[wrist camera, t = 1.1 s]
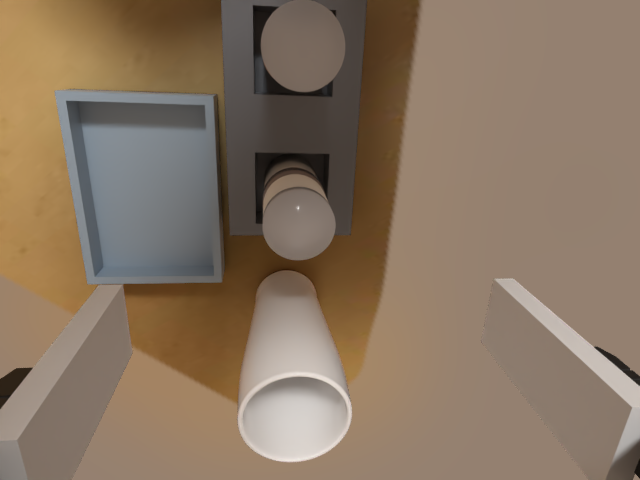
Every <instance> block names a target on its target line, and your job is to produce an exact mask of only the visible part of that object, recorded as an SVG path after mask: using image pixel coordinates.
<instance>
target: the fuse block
mask: <svg viewBox="0 0 640 480" xmlns="http://www.w3.org/2000/svg"><path fill="white" fill-rule="evenodd" d="M290 1H293V0H221V13H222V40H223V66H224V93H225V120H226V146H227V173H228V199H229V226H230V235H264V234H263V227H262V226H263V191H264V176H265V172H266V169H267V167H268V165H269V164H270V163H271V162H272V161H273V160H274V159H275V158H277V157H279V156H281V155H285V154H295V155H299V156H301V157H303V158H305V159H306V160H307V161H308V162H309V163H310V164H311V166H312V167H313V169H314V171H315V174H316V176H317V178H318V180H319V181H320V183H321V185H322V187H323V190H324V192H325V194H326V197H327V200H328V202H329V205H330V207H331V209H332V211H333V214H334V217H335V222H336V228H335V233H334V235H351V224H352V209H353V195H354V181H355V166H356V152H357V137H358V123H359V109H360V94H361V80H362V66H363V51H364V37H365V23H366V8H367V0H311V1H315V2H317V3H319V4H322V5H323V6H325V7H326V8H327V9H329V10H330V11H331V12H332V13H333V14H334V15H335V17H336V18H337V20H338V21H339V23H340V25H341V27H342V30H343V33H344V37H345V56H344V60H343V63H342V66H341V68H340V70H339V72H338V73H337V75H336V76H335V77H334V78H333V80H332V81H331V82H329V83H328V84H327V85H325V86H324V87H322V88H320V89H318V90H315V91H310V92H297V91H293V90H290V89H287V88H285V87H284V86H282V85H281V84H279V83H278V82H277V81H276V80H275V79H274V78H273V77H272V76H271V75H270V74H269V72H268V71H267V69H266V67H265V65H264V62H263V58H262V53H261V37H262V32H263V29H264V26H265V24H266V22H267V20H268V18H269V17H270V16H271V14H272V13H273V12H274V11H275V10H276V9H277V8H279V7H280V6H282V5H283V4H285V3H287V2H290Z"/></svg>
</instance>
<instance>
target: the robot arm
mask: <svg viewBox="0 0 640 480" xmlns="http://www.w3.org/2000/svg"><path fill="white" fill-rule="evenodd" d="M481 343H482V344H483V345H484V346H485V348H486V349H487V350H488V352H489V353H490V354H491V356H492V357H493V358H494V359H495V361H496V362H497V363H498V364H499V365H500V367H501V368H502V370H503V371H504V372H505V373H506V375H507V376H508V377H509V379H510V380H511V381H512V382H513V384H514V385H515V386H516V388H517V389H518V390H519V391H520V393H521V394H522V395H523V397H524V398H525V399H526V400H527V402H528V403H529V404H530V405H531V407H532V408H533V409H534V411H535V412H536V413H537V414H538V416H539V417H540V418H541V420H542V421H543V422H544V423H545V425H546V426H547V427H548V428H549V430H550V431H551V432H552V434H553V435H554V436H555V437H556V439H557V440H558V441H559V442H560V444H561V445H562V446H563V448H564V449H565V450H566V452H567V453H568V454H569V455H570V457H571V458H572V459H573V460H574V462H575V463H576V464H577V466H578V467H579V468H580V469H581V470H582V472H583V473H584V475H585V476H586V477H587V478H588V480H633V478H634V475H635V474H636V475H637V476H638V477H639V478H640V376H639V375H637V374H636V373H635V372H634V371H630V368H629V367H628V366H627V365H625V364H624V363H623V362H622V361H620V360H619V359H618V358H617V357H615V356H614V355H612V354H610V353H608V352H606V351H604V350H603V349H601V348H599V347H593V346H592V345H591V344H589V343H588V342H587V341H586V340H585V339H583V338H582V337H581V336H580V335H579V334H578V333H576V332H575V331H574V330H573V329H572V328H570V327H569V326H568V325H567V324H566V323H565V322H564V321H562V320H561V319H560V318H559V317H558V316H556V315H555V314H554V313H553V312H552V311H551V310H549V309H548V308H547V307H546V306H545V305H544V304H542V303H541V302H540V301H539V300H538V299H537V298H535V297H534V296H533V295H532V294H531V293H529V292H528V291H527V290H526V289H525V288H524V287H522V286H521V285H520V284H519V283H518V282H517V281H515V280H514V279H494V280H493V284H492V289H491V294H490V300H489V305H488V309H487V315H486V320H485V324H484V329H483V334H482V339H481ZM131 355H132V346H131V339H130V332H129V324H128V317H127V310H126V303H125V296H124V288H123V284H113V285H98V287H97V288H96V289H95V290H94V292H93V293H92V294H91V295H90V297H89V298H88V299H87V300H86V302H85V303H84V304H83V305H82V307H81V308H80V309H79V311H78V312H77V313H76V314H75V316H74V317H73V318H72V319H71V321H70V322H69V323H68V324H67V326H66V327H65V328H64V330H63V331H62V332H61V333H60V335H59V336H58V337H57V338H56V340H55V341H54V342H53V343H52V345H51V346H50V347H49V349H48V350H47V351H46V352H45V354H44V355H43V356H42V357H41V359H40V360H39V361H38V362H37V364H36V365H35V366H34V367H33V368H16V369H15V370H13V371H12V372H10V373H9V374H7V375H6V376H4V377H3V378H1V379H0V480H72V478H73V476H74V474H75V472H76V470H77V468H78V466H79V464H80V462H81V459H82V457H83V455H84V453H85V451H86V449H87V447H88V445H89V443H90V441H91V438H92V436H93V435H94V432H95V430H96V428H97V426H98V424H99V422H100V420H101V418H102V416H103V414H104V411H105V409H106V407H107V405H108V403H109V401H110V399H111V397H112V395H113V393H114V391H115V388H116V387H117V385H118V382H119V380H120V378H121V376H122V374H123V372H124V370H125V368H126V366H127V364H128V362H129V359H130V358H131Z"/></svg>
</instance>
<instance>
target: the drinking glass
mask: <svg viewBox="0 0 640 480" xmlns="http://www.w3.org/2000/svg"><path fill="white" fill-rule="evenodd" d="M351 420H352V406H351V401H350V395H349V389H348V384H347V380H346V375H345V372H344V368H343V364H342V361H341V358H340V355H339V352H338V350H337V347H336V345H335V342H334V340H333V337H332V335H331V332H330V330H329V327H328V325H327V322H326V320H325V317H324V314H323V312H322V309H321V307H320V304H319V301H318V298H317V293H316V290H315V287H314V285H313V284H312V282H311V281H310V280H309V279H308V278H307V277H306V276H304V275H303V274H301V273H299V272H296V271H291V270H283V271H278V272H275V273H273V274H271V275H269V276H268V277H266V278H265V279H264V280H263V281H262V282H261V284H260V285H259V287H258V289H257V292H256V298H255V307H254V312H253V317H252V321H251V326H250V330H249V335H248V339H247V343H246V347H245V352H244V356H243V361H242V366H241V372H240V379H239V389H238V417H237V422H238V429H239V432H240V435H241V437H242V439H243V440H244V442H245V443H246V444H247V445H248V446H249V447H250V448H251V449H252V450H253V451H255V452H256V453H257V454H259V455H261V456H263V457H265V458H268V459H271V460H275V461H280V462H300V461H306V460H310V459H313V458H316V457H319V456H321V455H323V454H325V453H327V452H328V451H329V450H331V449H333V448H334V447H335V446H336V445H337V444H338V443H339V442H340V441H341V440H342V439H343V438H344V436H345V435H346V433H347V431H348V429H349V427H350V423H351Z"/></svg>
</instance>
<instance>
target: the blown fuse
mask: <svg viewBox="0 0 640 480" xmlns="http://www.w3.org/2000/svg"><path fill="white" fill-rule="evenodd" d="M262 227H263V234H264V238H265V240H266V242H267V244H268V245H269V247H270V248H271V249H272V250H273V251H274V252H275V253H277V254H278V255H280V256H282V257H284V258H287V259H290V260H306V259H310V258H313V257H315V256H317V255H319V254H320V253H322V252H323V251H324V250H325V249H326V248H327V247H328V246H329V244H330V243H331V241H332V239H333V237H334V233H335V228H336V222H335V217H334V214H333V211H332V209H331V207H330V205H329V202H328V200H327V197H326V194H325V192H324V190H323V187H322V185H321V183H320V181H319V180H318V178H317V176H316V174H315V171H314V169H313V167H312V166H311V164H310V163H309V162H308V161H307V160H306V159H305V158H303V157H301V156H299V155H295V154H285V155H281V156H279V157H277V158H275V159H274V160H273V161H272V162H271V163H270V164H269V165H268V167H267V169H266V172H265V176H264V191H263V226H262Z"/></svg>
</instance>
